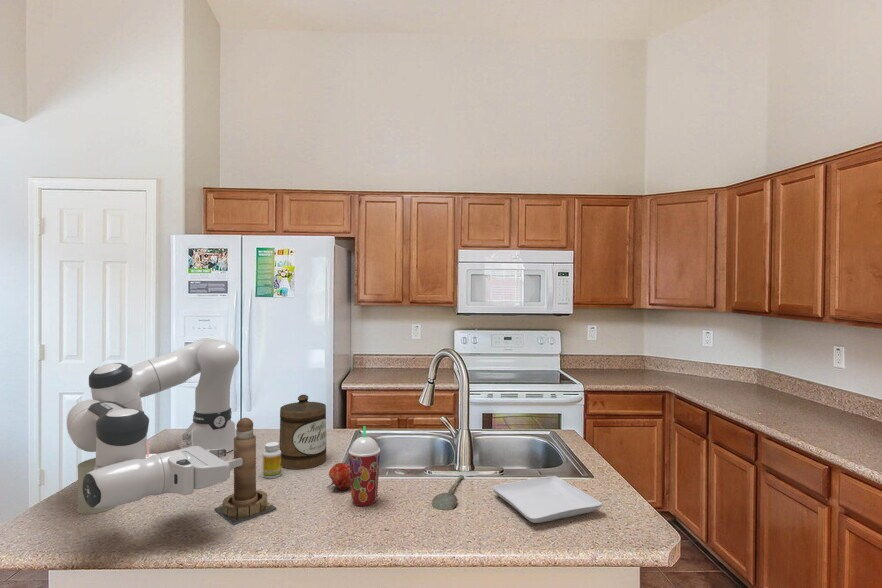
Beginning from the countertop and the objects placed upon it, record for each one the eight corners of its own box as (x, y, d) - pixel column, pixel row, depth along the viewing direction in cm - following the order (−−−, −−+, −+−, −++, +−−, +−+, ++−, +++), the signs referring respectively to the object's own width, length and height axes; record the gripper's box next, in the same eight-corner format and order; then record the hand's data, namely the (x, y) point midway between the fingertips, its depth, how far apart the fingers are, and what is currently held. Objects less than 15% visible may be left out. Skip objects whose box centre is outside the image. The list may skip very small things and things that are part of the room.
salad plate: (489, 496, 132) (489, 484, 132) (555, 485, 139) (555, 473, 139) (531, 532, 112) (531, 518, 112) (604, 517, 120) (604, 503, 120)
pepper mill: (228, 508, 122) (228, 418, 122) (251, 500, 127) (250, 413, 127) (238, 515, 118) (238, 422, 118) (261, 507, 123) (261, 417, 123)
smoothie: (385, 496, 131) (385, 423, 131) (372, 510, 123) (372, 432, 123) (356, 493, 133) (356, 421, 133) (342, 506, 125) (342, 429, 125)
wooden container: (302, 473, 148) (302, 401, 148) (269, 464, 155) (269, 396, 155) (335, 458, 161) (335, 393, 161) (303, 451, 168) (303, 388, 168)
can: (127, 503, 127) (127, 458, 127) (87, 517, 119) (87, 469, 119) (110, 495, 131) (109, 452, 131) (70, 508, 123) (70, 462, 123)
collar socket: (214, 510, 122) (214, 498, 122) (256, 497, 130) (256, 486, 130) (233, 525, 115) (233, 512, 115) (276, 509, 123) (276, 498, 123)
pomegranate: (329, 501, 133) (357, 481, 132) (314, 479, 134) (342, 458, 133) (339, 493, 140) (366, 474, 139) (326, 472, 141) (352, 452, 141)
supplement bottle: (260, 474, 146) (260, 443, 146) (277, 470, 150) (277, 440, 150) (266, 480, 142) (266, 448, 142) (284, 476, 146) (284, 444, 146)
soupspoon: (428, 513, 124) (452, 517, 122) (428, 500, 124) (453, 504, 122) (451, 478, 145) (472, 481, 143) (451, 467, 145) (473, 470, 143)
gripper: (157, 472, 117) (216, 458, 127) (188, 497, 103) (251, 479, 113) (158, 446, 117) (216, 435, 127) (188, 468, 103) (251, 453, 113)
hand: (233, 456), depth 120 cm, fingers open, 8 cm apart
